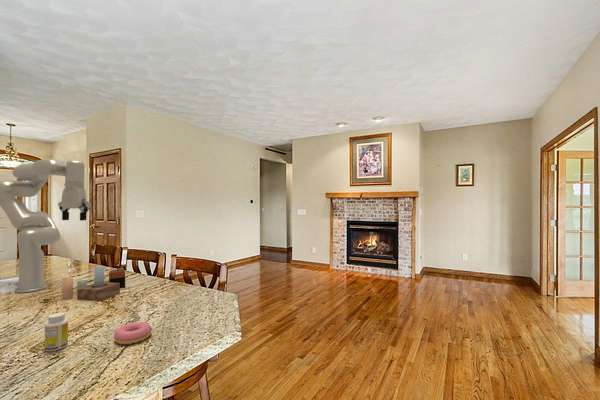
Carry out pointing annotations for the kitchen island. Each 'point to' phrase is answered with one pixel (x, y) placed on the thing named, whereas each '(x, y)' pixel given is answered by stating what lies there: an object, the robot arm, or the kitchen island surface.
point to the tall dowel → (99, 276)
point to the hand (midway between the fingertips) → (74, 220)
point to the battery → (117, 277)
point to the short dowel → (81, 283)
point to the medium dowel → (67, 288)
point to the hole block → (98, 291)
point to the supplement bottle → (56, 332)
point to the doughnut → (132, 333)
